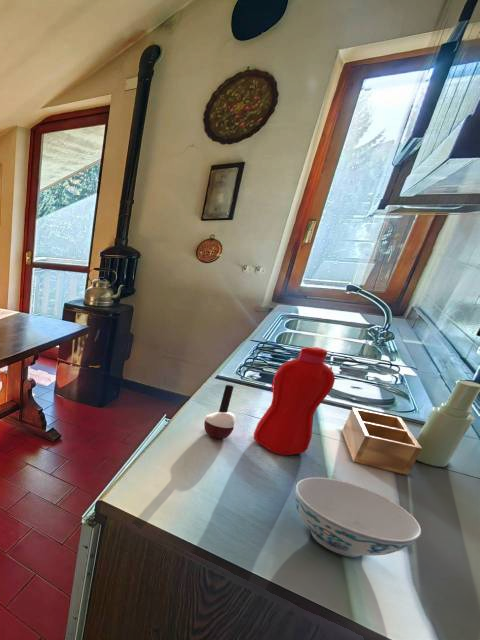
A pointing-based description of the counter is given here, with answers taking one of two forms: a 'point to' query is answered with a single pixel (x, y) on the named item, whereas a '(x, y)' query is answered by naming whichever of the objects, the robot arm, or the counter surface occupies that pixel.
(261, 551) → the counter surface
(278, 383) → the red plastic tall container
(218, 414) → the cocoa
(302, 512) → the chinaware
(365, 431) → the box
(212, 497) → the counter surface
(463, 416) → the bottle
